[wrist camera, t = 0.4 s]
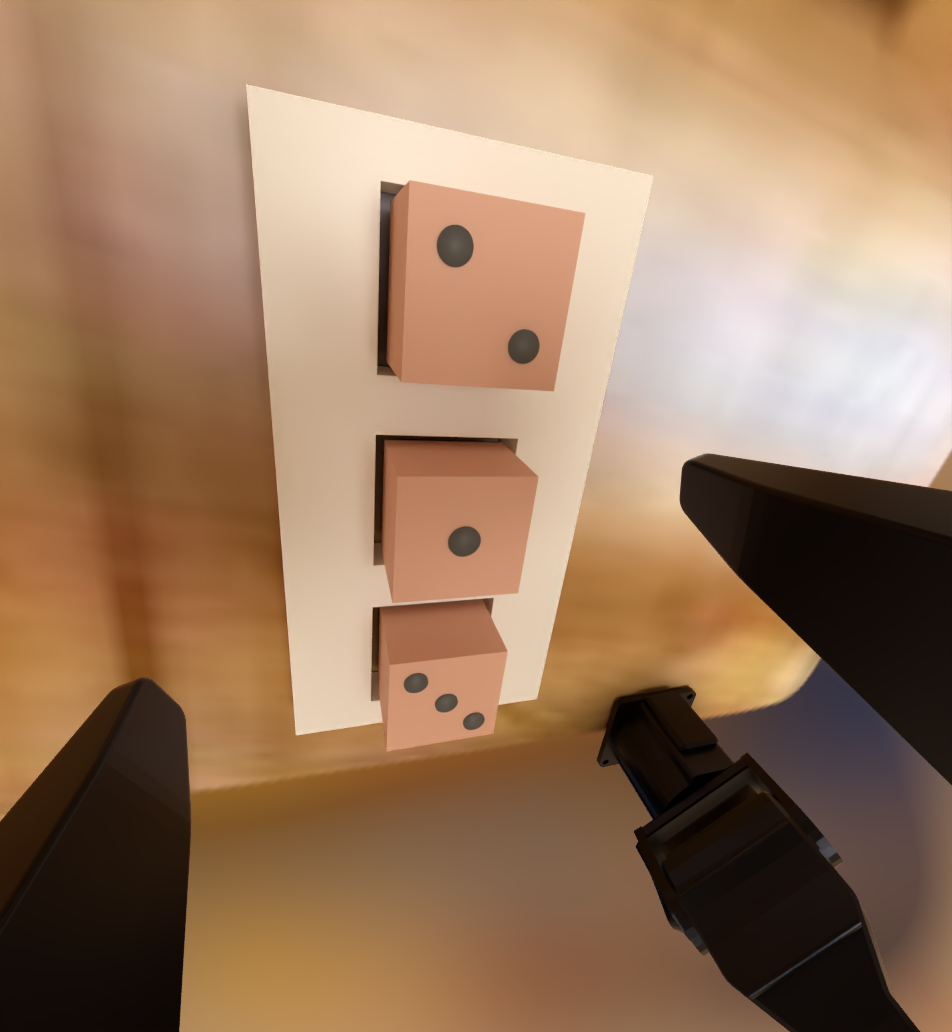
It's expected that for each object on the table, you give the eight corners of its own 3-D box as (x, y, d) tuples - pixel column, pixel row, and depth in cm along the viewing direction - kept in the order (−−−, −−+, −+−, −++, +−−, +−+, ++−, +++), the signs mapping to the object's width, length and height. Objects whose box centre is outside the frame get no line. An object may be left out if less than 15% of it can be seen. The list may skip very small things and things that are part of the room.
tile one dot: (488, 544, 22) (519, 594, 19) (381, 549, 21) (392, 604, 17) (502, 442, 20) (539, 477, 17) (384, 439, 19) (397, 477, 15)
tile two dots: (512, 370, 19) (555, 391, 15) (386, 361, 17) (401, 382, 14) (532, 225, 17) (587, 212, 13) (390, 201, 15) (410, 179, 12)
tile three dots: (470, 672, 26) (493, 735, 22) (377, 684, 24) (386, 753, 21) (481, 596, 24) (508, 653, 20) (379, 604, 22) (390, 666, 19)
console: (524, 673, 29) (536, 698, 27) (297, 703, 25) (296, 735, 23) (622, 185, 18) (653, 175, 16) (255, 107, 14) (246, 84, 13)
